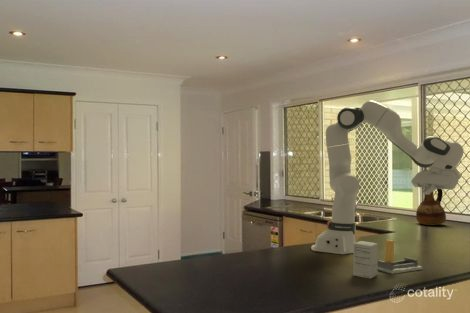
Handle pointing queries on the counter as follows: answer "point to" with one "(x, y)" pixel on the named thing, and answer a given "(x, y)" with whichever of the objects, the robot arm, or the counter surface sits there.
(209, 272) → the counter surface
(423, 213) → the ceramic pitcher
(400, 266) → the console
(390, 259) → the orange upright block
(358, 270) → the supplement box
